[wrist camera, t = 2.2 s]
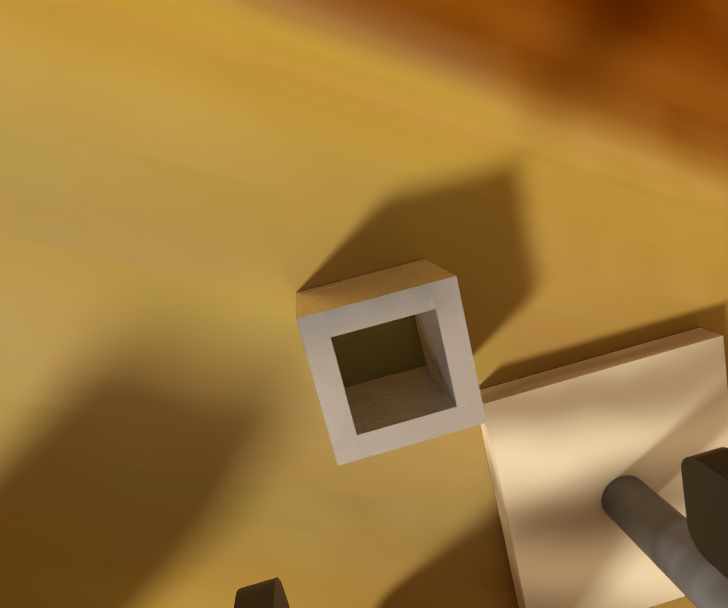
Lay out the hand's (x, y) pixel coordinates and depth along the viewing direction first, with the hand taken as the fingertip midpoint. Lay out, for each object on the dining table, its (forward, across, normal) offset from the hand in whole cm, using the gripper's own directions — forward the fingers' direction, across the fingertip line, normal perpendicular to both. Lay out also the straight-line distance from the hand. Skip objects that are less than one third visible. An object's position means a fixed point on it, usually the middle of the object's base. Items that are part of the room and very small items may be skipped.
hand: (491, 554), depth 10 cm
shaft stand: (+15, -10, +11) cm, 21 cm away
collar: (+15, 0, 0) cm, 15 cm away
